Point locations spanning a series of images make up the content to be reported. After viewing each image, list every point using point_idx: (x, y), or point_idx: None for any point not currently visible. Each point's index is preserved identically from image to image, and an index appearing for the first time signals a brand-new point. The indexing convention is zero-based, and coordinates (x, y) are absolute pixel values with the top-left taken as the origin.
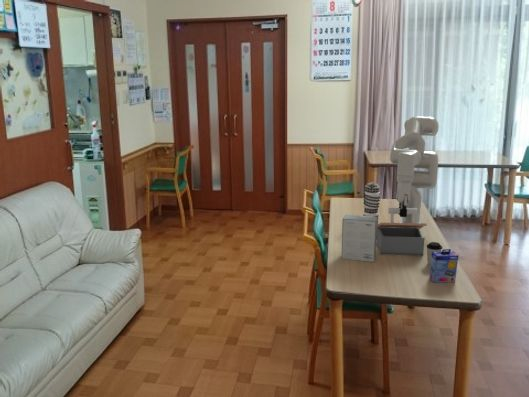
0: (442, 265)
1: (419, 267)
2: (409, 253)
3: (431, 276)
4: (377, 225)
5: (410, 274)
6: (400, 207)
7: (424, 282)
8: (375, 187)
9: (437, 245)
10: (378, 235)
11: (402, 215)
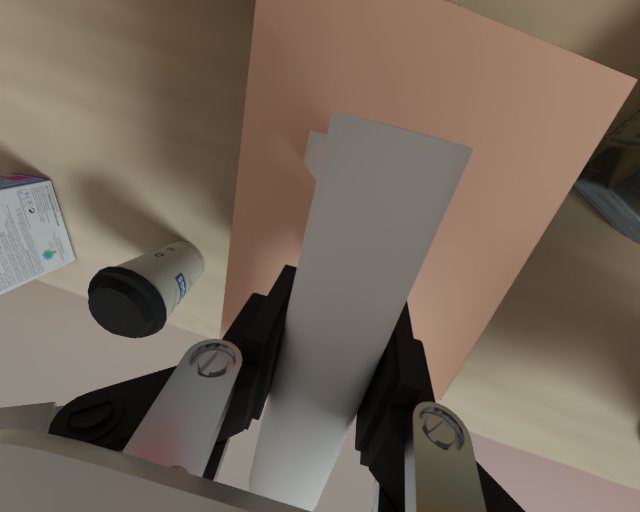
0: None
1: (151, 191)
2: None
3: (12, 178)
4: (579, 61)
5: (69, 112)
6: (380, 392)
7: (2, 136)
8: None
9: (94, 314)
10: None
11: (255, 295)
